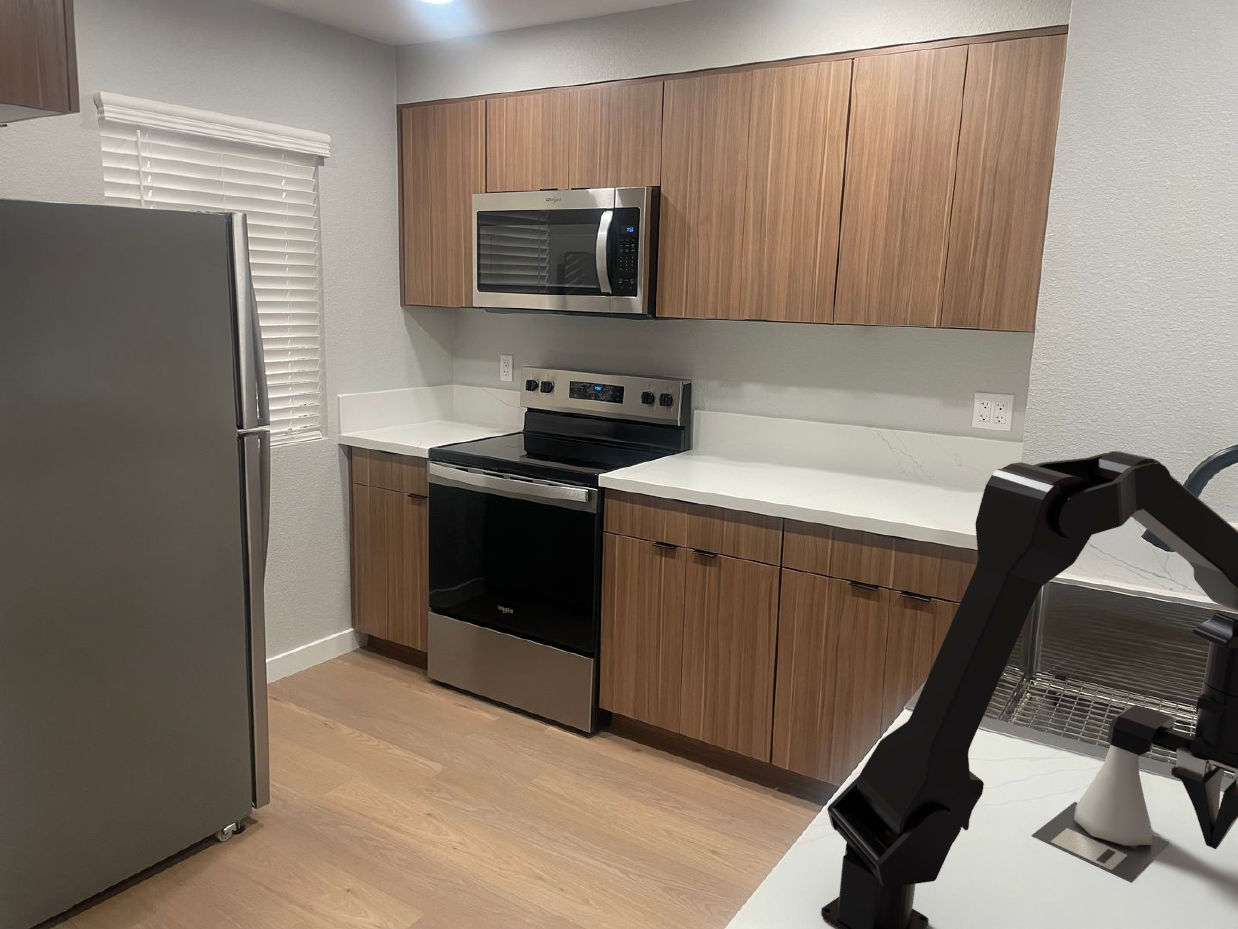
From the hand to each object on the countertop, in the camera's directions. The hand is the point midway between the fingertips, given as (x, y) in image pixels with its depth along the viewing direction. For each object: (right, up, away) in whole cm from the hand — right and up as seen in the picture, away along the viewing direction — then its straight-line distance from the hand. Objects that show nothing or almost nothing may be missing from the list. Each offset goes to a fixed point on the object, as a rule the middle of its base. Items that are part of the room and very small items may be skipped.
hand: (1212, 846), depth 84 cm
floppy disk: (-8, -1, +5) cm, 9 cm away
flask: (-6, -1, +7) cm, 9 cm away
